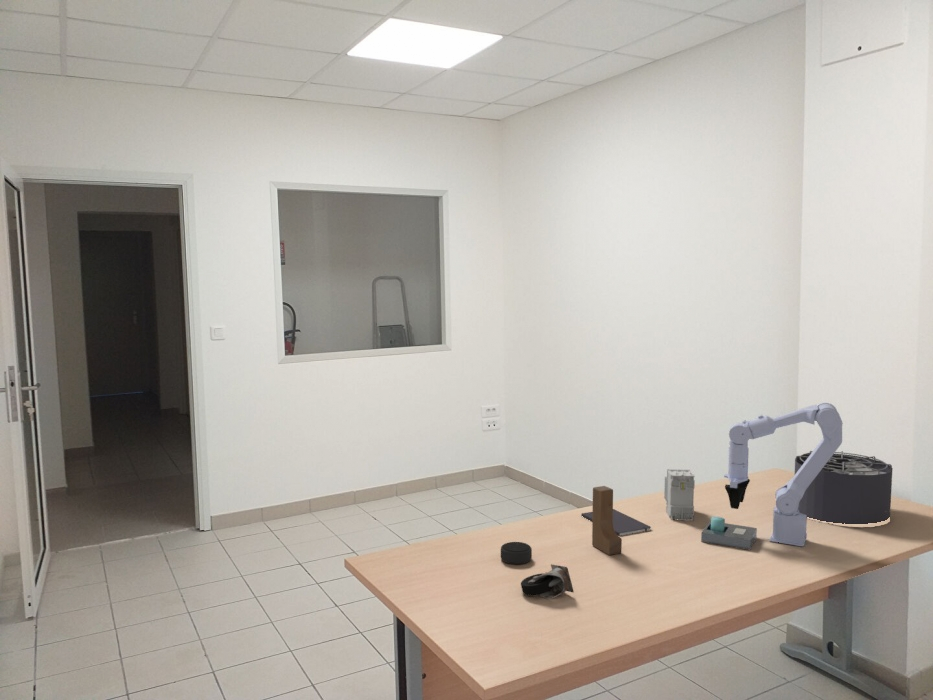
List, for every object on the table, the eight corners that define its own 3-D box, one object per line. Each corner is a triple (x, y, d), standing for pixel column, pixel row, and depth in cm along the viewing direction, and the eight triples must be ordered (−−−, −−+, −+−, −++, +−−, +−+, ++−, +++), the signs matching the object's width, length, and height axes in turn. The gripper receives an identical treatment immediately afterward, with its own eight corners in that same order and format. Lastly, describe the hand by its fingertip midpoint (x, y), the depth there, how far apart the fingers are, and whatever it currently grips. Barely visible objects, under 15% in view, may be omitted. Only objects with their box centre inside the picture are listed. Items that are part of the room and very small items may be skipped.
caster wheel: (518, 600, 190) (547, 585, 195) (546, 607, 180) (575, 591, 186) (512, 575, 190) (541, 561, 195) (539, 581, 180) (569, 566, 186)
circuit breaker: (685, 507, 258) (686, 465, 256) (693, 520, 244) (694, 476, 242) (663, 506, 258) (664, 464, 257) (670, 519, 244) (671, 475, 243)
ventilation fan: (897, 475, 229) (792, 465, 242) (894, 533, 230) (790, 520, 243) (890, 454, 255) (795, 446, 268) (887, 506, 257) (793, 495, 270)
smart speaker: (534, 555, 214) (534, 542, 213) (528, 567, 205) (528, 553, 205) (504, 552, 216) (504, 539, 216) (497, 563, 208) (497, 550, 207)
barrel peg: (725, 537, 228) (726, 518, 227) (722, 540, 224) (723, 521, 224) (712, 534, 230) (712, 515, 229) (709, 538, 227) (709, 519, 226)
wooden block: (622, 553, 215) (622, 493, 213) (609, 555, 213) (610, 495, 211) (604, 543, 223) (604, 485, 221) (591, 545, 221) (592, 487, 219)
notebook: (581, 517, 248) (619, 537, 229) (581, 513, 248) (619, 533, 229) (612, 512, 254) (652, 532, 234) (612, 508, 253) (652, 527, 234)
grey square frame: (756, 537, 227) (756, 527, 227) (749, 550, 217) (750, 539, 217) (709, 530, 234) (710, 520, 234) (701, 541, 224) (701, 531, 223)
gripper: (729, 455, 236) (728, 497, 237) (720, 465, 224) (718, 509, 225) (752, 458, 233) (751, 500, 234) (744, 468, 220) (743, 512, 221)
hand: (736, 505), depth 229 cm, fingers open, 7 cm apart
